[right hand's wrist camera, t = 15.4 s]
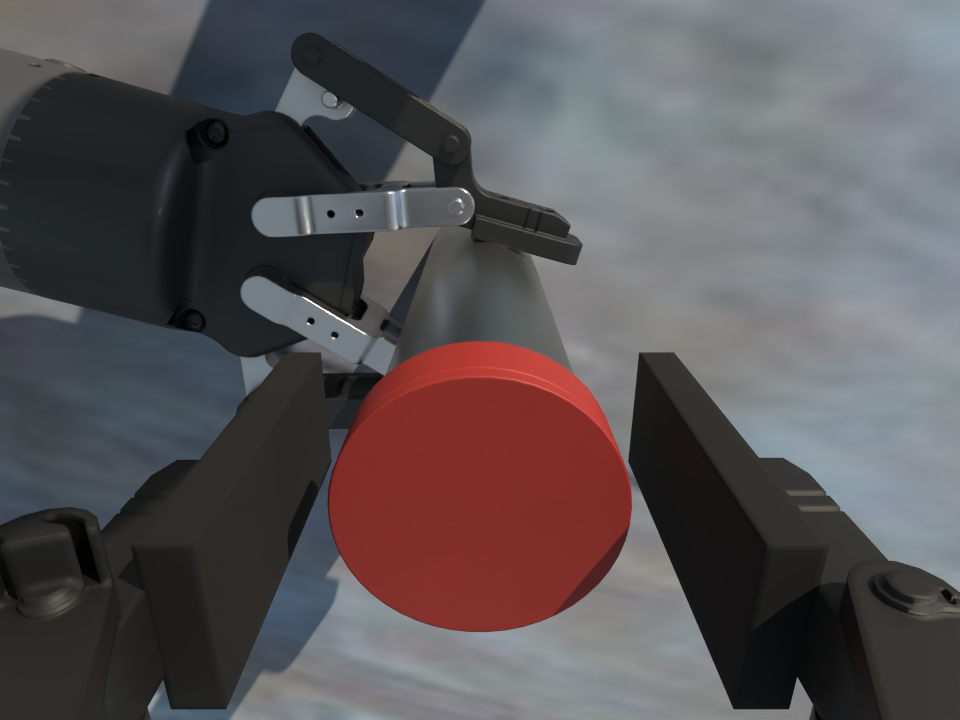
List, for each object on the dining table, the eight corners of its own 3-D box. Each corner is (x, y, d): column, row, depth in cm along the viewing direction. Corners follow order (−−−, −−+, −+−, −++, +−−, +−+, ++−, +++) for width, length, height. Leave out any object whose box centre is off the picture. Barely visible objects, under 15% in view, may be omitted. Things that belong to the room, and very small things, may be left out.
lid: (298, 494, 12) (273, 549, 11) (441, 284, 11) (434, 312, 9) (511, 609, 13) (515, 673, 12) (668, 433, 12) (695, 481, 10)
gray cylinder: (498, 190, 27) (531, 327, 10) (546, 277, 29) (649, 532, 11) (411, 241, 28) (300, 453, 11) (462, 323, 29) (437, 628, 12)
